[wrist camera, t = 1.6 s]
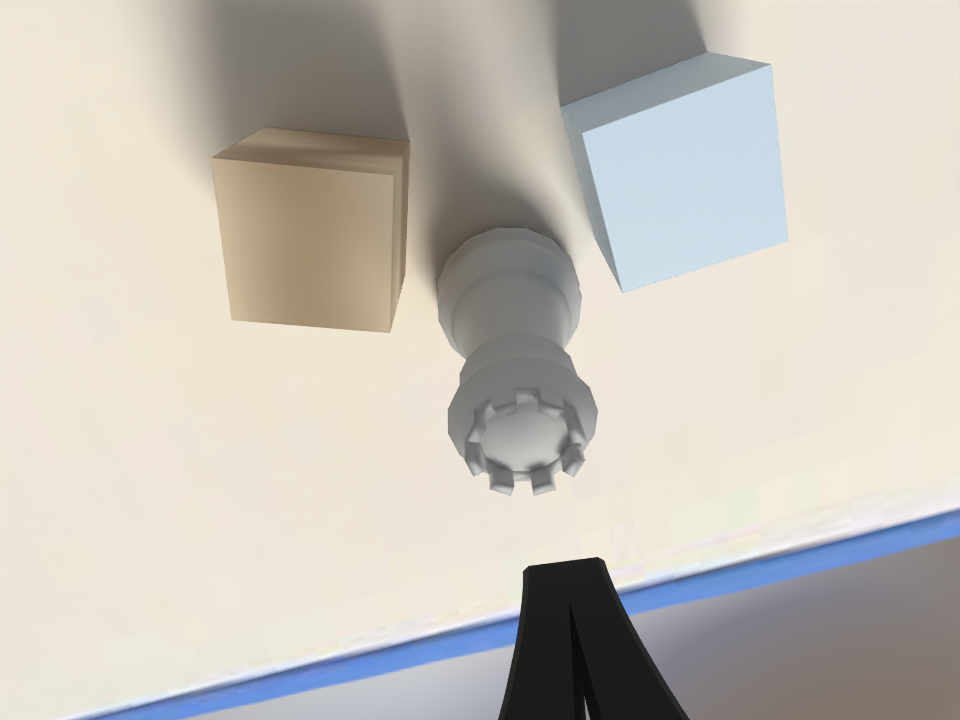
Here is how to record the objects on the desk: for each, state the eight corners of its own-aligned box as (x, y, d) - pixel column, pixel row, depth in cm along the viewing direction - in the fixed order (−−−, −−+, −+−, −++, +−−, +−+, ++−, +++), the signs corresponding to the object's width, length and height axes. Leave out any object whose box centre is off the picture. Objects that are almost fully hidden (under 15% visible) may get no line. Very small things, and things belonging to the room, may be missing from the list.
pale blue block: (706, 51, 16) (770, 64, 12) (727, 195, 18) (787, 241, 14) (559, 106, 16) (582, 132, 13) (595, 239, 18) (622, 293, 15)
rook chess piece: (422, 235, 18) (390, 376, 11) (569, 208, 18) (629, 337, 11) (452, 360, 20) (441, 541, 13) (583, 339, 20) (641, 514, 13)
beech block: (410, 140, 17) (393, 175, 13) (405, 273, 19) (390, 332, 15) (265, 126, 17) (211, 157, 13) (276, 262, 19) (231, 320, 15)
